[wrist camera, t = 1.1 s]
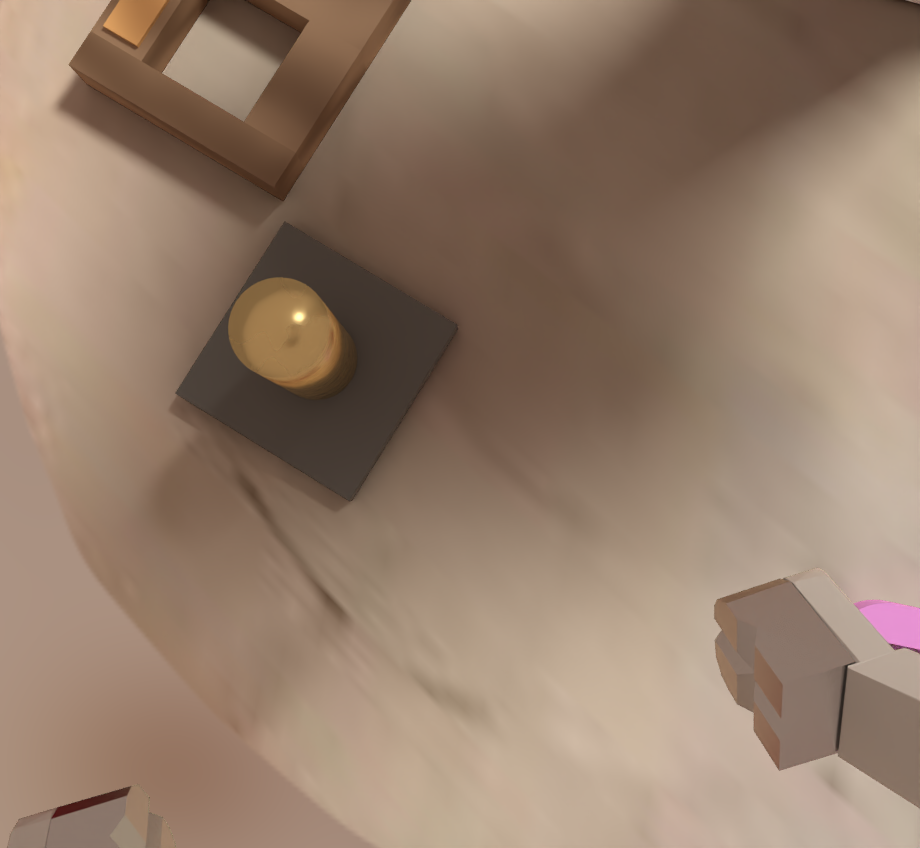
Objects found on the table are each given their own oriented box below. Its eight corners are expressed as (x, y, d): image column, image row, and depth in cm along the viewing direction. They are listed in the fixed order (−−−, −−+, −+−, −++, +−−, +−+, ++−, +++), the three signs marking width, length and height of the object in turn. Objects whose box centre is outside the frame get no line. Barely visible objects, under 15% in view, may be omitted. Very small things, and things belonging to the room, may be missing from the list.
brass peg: (303, 303, 42) (263, 258, 34) (372, 345, 42) (348, 310, 34) (259, 373, 42) (208, 344, 34) (329, 415, 41) (294, 396, 34)
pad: (289, 227, 43) (284, 221, 42) (457, 328, 43) (457, 324, 42) (182, 395, 43) (175, 393, 42) (351, 500, 42) (349, 500, 41)
